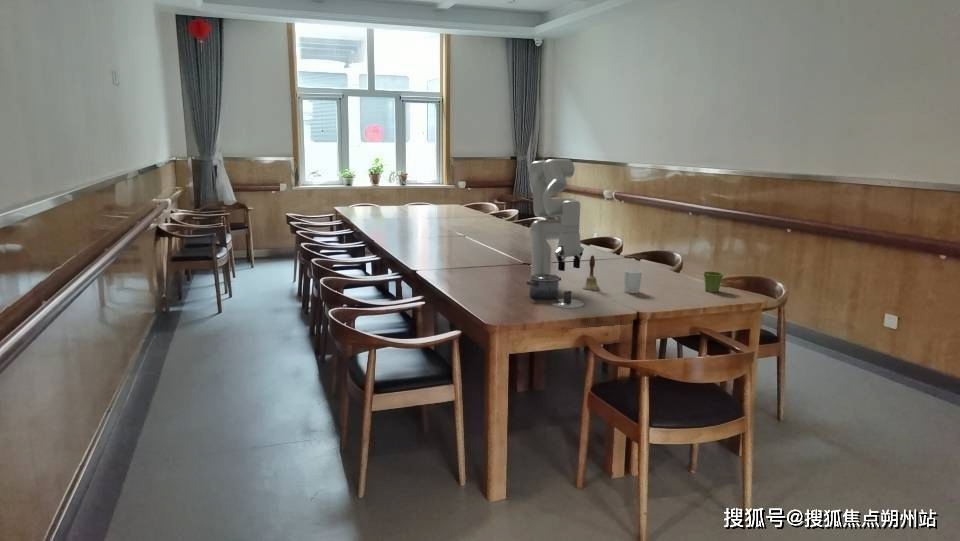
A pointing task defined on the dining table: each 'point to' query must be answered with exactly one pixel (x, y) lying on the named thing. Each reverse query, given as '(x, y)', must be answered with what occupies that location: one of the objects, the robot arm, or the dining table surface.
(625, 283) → the white cup
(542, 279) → the pot
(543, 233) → the robot arm
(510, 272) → the dining table surface
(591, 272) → the hand bell
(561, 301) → the lid
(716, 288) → the plant pot
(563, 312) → the dining table surface
